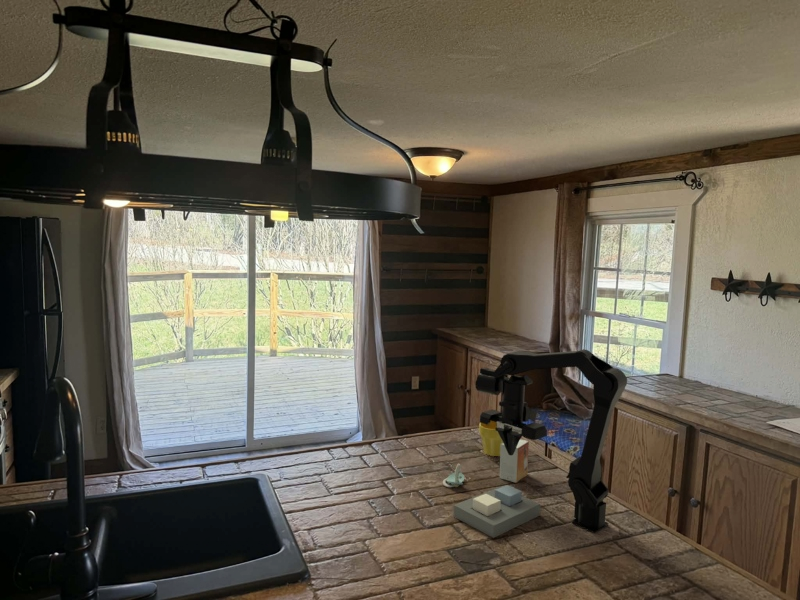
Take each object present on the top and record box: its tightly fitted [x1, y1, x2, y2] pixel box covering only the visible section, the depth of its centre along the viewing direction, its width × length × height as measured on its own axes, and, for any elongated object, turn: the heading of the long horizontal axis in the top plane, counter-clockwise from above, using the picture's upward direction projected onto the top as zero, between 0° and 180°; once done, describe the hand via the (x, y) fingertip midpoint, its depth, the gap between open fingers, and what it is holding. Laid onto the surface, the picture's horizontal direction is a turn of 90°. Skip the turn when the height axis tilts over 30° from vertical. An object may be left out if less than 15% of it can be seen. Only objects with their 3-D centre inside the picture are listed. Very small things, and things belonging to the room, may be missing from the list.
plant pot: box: [478, 421, 503, 457], centre depth 182 cm, size 10×10×10 cm
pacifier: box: [442, 463, 465, 488], centre depth 158 cm, size 7×6×6 cm
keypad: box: [453, 486, 541, 539], centre depth 139 cm, size 13×18×3 cm
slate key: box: [495, 484, 523, 506], centre depth 142 cm, size 5×5×3 cm
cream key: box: [473, 494, 501, 516], centre depth 136 cm, size 5×5×3 cm
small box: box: [498, 438, 530, 483], centre depth 164 cm, size 8×6×10 cm
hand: (510, 454), depth 149 cm, fingers closed
